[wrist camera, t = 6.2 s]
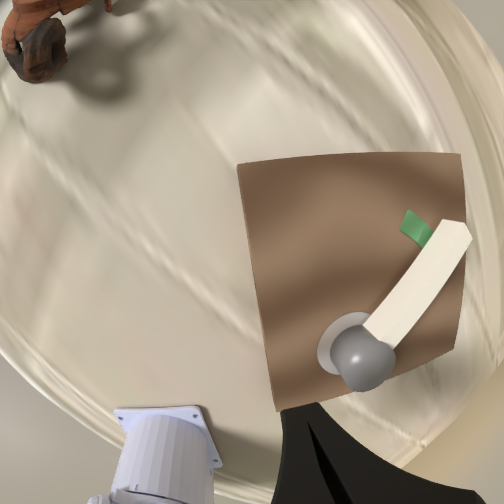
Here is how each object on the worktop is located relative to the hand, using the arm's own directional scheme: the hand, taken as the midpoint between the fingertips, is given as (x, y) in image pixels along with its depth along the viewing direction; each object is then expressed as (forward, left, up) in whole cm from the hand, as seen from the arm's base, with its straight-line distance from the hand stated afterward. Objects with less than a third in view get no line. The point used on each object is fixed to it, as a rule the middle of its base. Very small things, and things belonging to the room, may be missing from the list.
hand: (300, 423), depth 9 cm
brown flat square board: (+1, -9, -10) cm, 14 cm away
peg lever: (0, -10, -8) cm, 13 cm away
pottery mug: (+24, +13, -11) cm, 29 cm away
